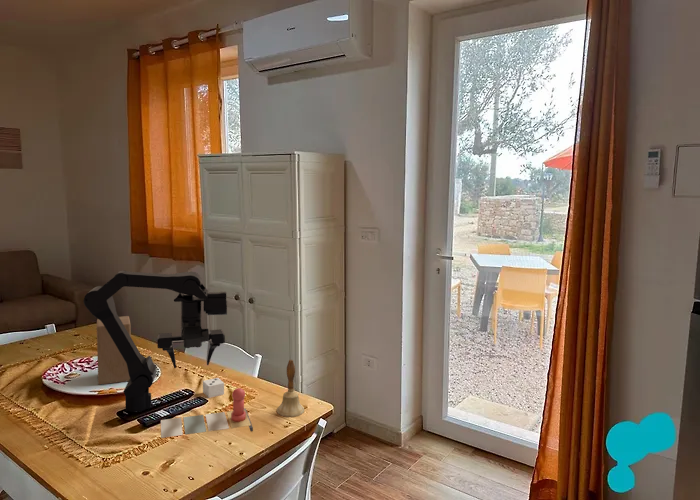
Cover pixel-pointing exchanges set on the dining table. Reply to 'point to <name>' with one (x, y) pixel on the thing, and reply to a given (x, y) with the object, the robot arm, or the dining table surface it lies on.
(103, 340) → the wooden block
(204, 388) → the die
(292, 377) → the hand bell
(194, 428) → the board
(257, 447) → the dining table surface
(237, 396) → the pawn
